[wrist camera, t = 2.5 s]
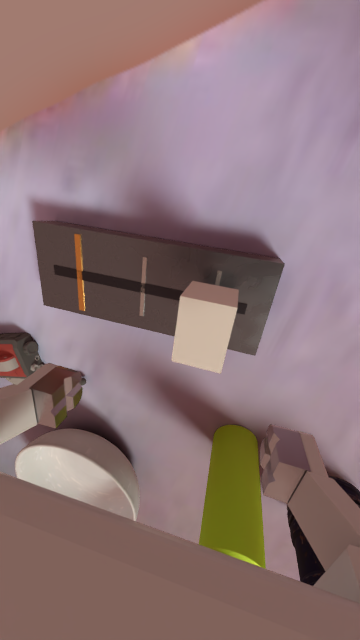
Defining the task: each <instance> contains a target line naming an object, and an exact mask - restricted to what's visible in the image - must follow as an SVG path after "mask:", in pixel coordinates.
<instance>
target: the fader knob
mask: <svg viewBox="0 0 360 640" xmlns="http://www.w3.org/2000/svg"><path fill="white" fill-rule="evenodd" d="M238 293H239V290H238V289H232V288H227V287H222V286H217V285H212V284H207V283H202V282H196V281H192V282H191V283H190V285H189V286H188V287H187V288H186V289H185V291H184V292H183V293H182V294H181V296H180V301H179V309H178V316H177V323H176V331H175V338H174V345H173V353H172V360H171V361H174V362H178V363H182V364H185V365H189V366H193V367H197V368H201V369H205V370H209V371H212V372H216V373H220V374H221V371H222V367H223V363H224V359H225V355H226V351H227V347H228V343H229V339H230V335H231V331H232V327H233V324H234V320H235V316H236V312H237V308H238Z"/></svg>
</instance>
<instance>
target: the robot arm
mask: <svg viewBox="0 0 360 640" xmlns="http://www.w3.org/2000/svg"><path fill="white" fill-rule="evenodd" d="M81 380H82V377H81V373H80V372H78V371H75V370H72V369H68V368H65V367H62V366H57V365H54V364H51V363H48V364H45V365H44V366H42V367H41V368H39V369H38V370H37V371H35V372H34V373H33V374H31V375H30V376H29V377H27V378H26V379H24V380H23V381H22V382H20V383H19V384H18V385H15V384H13V385H9V386H6V387H3V388H0V444H2V443H4V442H6V441H8V440H9V439H11V438H13V437H15V436H17V435H19V434H21V433H23V432H24V431H26V430H28V429H30V428H32V427H34V426H36V425H37V423H38V424H41V425H45V426H48V427H52V428H55V429H56V428H57V427H58V426H59V425H60V424H61V423H62V421H63V420H64V419H65V418H66V417H67V411H69V410H71V409H74V408H75V407H76V405H77V404H78V403H79V401H80V399H81V396H82V386H81V385H80V383H79V382H80V381H81ZM260 465H261V466H262V468H263V469H264V471H263V473H262V476H261V478H262V488H263V495H265V496H268V497H271V498H273V499H276V500H279V501H282V502H285V503H288V507H289V508H290V510H291V512H292V514H293V515H294V517H295V519H296V521H297V522H298V524H299V526H300V528H301V529H302V531H303V533H304V535H305V536H306V538H307V540H308V542H309V543H310V545H311V547H312V549H313V550H314V552H315V554H316V556H317V557H318V559H319V561H320V563H321V564H322V566H323V568H324V570H325V571H326V572H325V573H324V574H323V575H322V576H321V577H320V579H319V580H318V581H317V582H316V583H315V584H314V586H311V585H308V584H306V583H303V582H300V581H297V580H295V579H292V578H289V577H286V576H284V575H281V574H278V573H276V572H273V571H270V570H267V569H265V568H262V567H259V566H256V565H254V564H251V563H248V562H245V561H243V560H240V559H237V558H235V557H232V556H229V555H226V554H224V553H221V552H218V551H215V550H213V549H210V548H207V547H205V546H202V545H199V544H196V543H194V542H191V541H188V540H185V539H183V538H180V537H177V536H175V535H172V534H169V533H166V532H164V531H161V530H158V529H156V528H153V527H150V526H147V525H145V524H142V523H139V522H136V521H134V520H131V519H128V518H126V517H123V516H120V515H117V514H115V513H112V512H109V511H106V510H104V509H101V508H98V507H95V506H93V505H90V504H87V503H84V502H82V501H79V500H76V499H74V498H71V497H68V496H65V495H63V494H60V493H57V492H54V491H52V490H49V489H46V488H43V487H41V486H38V485H35V484H33V483H30V482H27V481H24V480H22V479H19V478H16V477H13V476H11V475H8V474H5V473H2V472H0V640H360V508H359V507H358V506H357V504H356V503H355V502H354V501H353V500H352V499H351V498H350V497H349V496H348V495H347V493H346V492H345V491H344V490H343V489H342V488H341V487H340V486H339V485H338V484H337V482H336V481H335V480H334V479H332V478H329V477H328V474H327V471H326V469H325V466H324V463H323V460H322V458H321V455H320V452H319V450H318V447H317V444H316V441H315V439H314V437H313V436H312V435H311V434H307V433H303V432H299V431H295V430H291V429H288V428H284V427H280V426H276V425H273V424H270V425H269V426H268V429H267V437H266V438H264V439H263V441H262V444H261V448H260Z"/></svg>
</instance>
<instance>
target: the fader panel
mask: <svg viewBox="0 0 360 640" xmlns="http://www.w3.org/2000/svg"><path fill="white" fill-rule="evenodd" d="M33 229H34V236H35V243H36V251H37V258H38V265H39V273H40V280H41V288H42V295H43V302H44V305H46V306H50V307H54V308H58V309H62V310H67V311H71V312H75V313H79V314H83V315H88V316H92V317H96V318H100V319H104V320H108V321H113V322H117V323H121V324H125V325H129V326H134V327H138V328H142V329H146V330H150V331H154V332H159V333H163V334H167V335H171V336H175V331H176V323H177V316H178V309H179V301H180V296H181V294H182V293H183V292H184V291H185V289H186V288H187V287H188V286H189V285H190V283H191V282H192V281H196V282H202V283H207V284H212V285H217V286H222V287H227V288H232V289H238V290H239V293H238V308H237V312H236V316H235V320H234V324H233V327H232V331H231V335H230V339H229V343H228V347H227V349H230V350H234V351H238V352H242V353H246V354H251V355H256V352H257V348H258V345H259V342H260V339H261V336H262V333H263V330H264V327H265V324H266V320H267V317H268V314H269V311H270V308H271V305H272V302H273V299H274V296H275V292H276V289H277V286H278V283H279V280H280V277H281V274H282V271H283V268H284V263H283V261H282V260H281V259H280V258H275V257H269V256H263V255H257V254H251V253H245V252H239V251H233V250H227V249H221V248H215V247H209V246H203V245H197V244H191V243H185V242H179V241H173V240H167V239H161V238H155V237H149V236H143V235H137V234H131V233H125V232H119V231H113V230H107V229H101V228H95V227H89V226H83V225H77V224H71V223H65V222H59V221H33Z"/></svg>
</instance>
